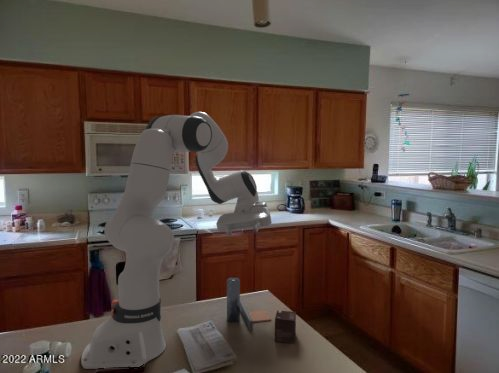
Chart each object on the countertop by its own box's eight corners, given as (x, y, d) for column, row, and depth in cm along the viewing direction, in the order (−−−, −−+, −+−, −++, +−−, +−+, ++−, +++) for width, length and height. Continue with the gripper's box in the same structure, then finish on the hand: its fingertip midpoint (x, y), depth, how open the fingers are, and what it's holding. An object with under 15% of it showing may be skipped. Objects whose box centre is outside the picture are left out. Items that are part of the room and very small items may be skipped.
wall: (249, 329, 113) (249, 320, 112) (239, 308, 128) (239, 300, 128) (252, 329, 113) (252, 320, 113) (242, 308, 128) (242, 300, 128)
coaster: (251, 322, 117) (251, 321, 117) (246, 313, 124) (246, 312, 124) (271, 320, 119) (271, 319, 119) (265, 311, 126) (265, 310, 126)
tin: (228, 323, 117) (228, 282, 116) (225, 317, 121) (225, 278, 120) (240, 322, 118) (241, 281, 117) (238, 316, 122) (238, 277, 121)
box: (294, 344, 105) (294, 320, 104) (274, 341, 106) (274, 318, 105) (295, 334, 111) (296, 311, 110) (276, 331, 112) (277, 309, 111)
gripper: (217, 209, 136) (211, 228, 123) (269, 201, 132) (268, 220, 120) (221, 222, 138) (215, 243, 126) (272, 215, 135) (271, 236, 122)
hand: (241, 232), depth 123 cm, fingers open, 8 cm apart
